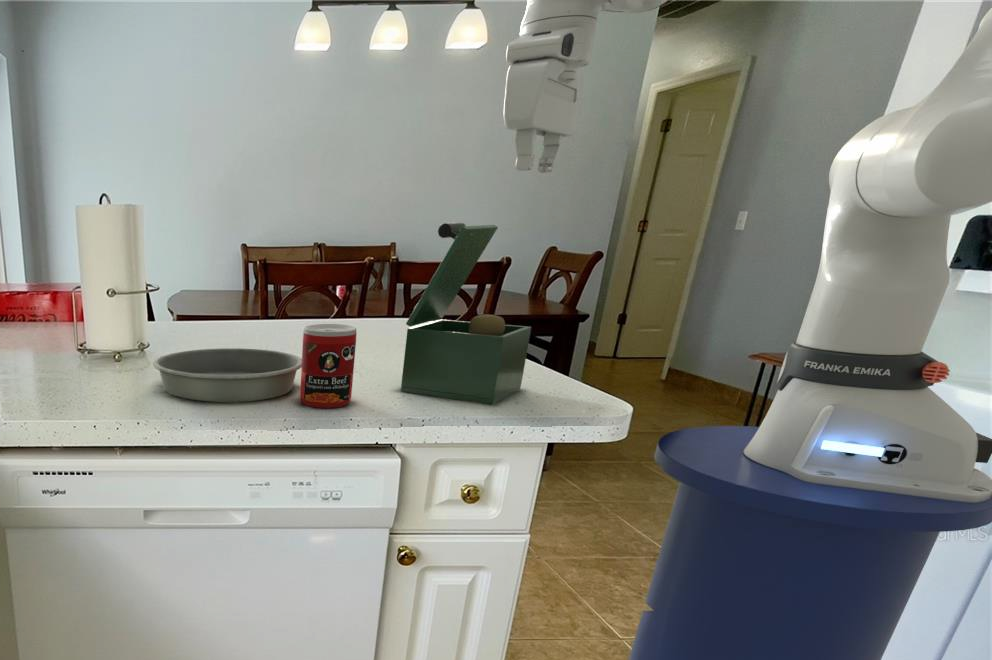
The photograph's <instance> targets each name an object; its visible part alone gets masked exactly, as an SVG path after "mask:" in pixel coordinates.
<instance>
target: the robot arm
mask: <svg viewBox="0 0 992 660" xmlns="http://www.w3.org/2000/svg"><path fill="white" fill-rule="evenodd" d="M669 1H670V0H527V5H526V10H525V13H524V16H523V19H522V21H521V24H520V31H519V36H518V37H517V38H515V39H514V40H512V41H510V42H509V43H508V44H507V47H506V53H505V63H506V64H508V65H509V67H508V70H507V73H506V81H505V89H504V102H503V123H504V128H505V129H506V130H510V131H514V132H516V134H515V151H516V152H515V153H516V160H515V170H516V171H530V170H533V167H534V162H535V154H534V145H535V140H536V139H537V136H538V137H539V136H540V137H543V143H542V145H543V148H542V153H541V157H540V158H539V159H538V166H537V172H538V173H541V174H542V173H543V174H544V173H545V174H546V173H552V172H553V171H554V170H555V165H556V159H557V157H558V155H559V152H560V149H561V148H562V144H563V139H564V138H568V137H572V136H574V134H575V132H576V130H577V126H578V120H579V114H580V105H581V100H582V99H581V98H582V90H583V79H582V75H581V74H580V73H578V69H580V68H584V67H586V66H588V65H589V64H590V62H591V56H592V50H593V45H594V38H595V33H596V27H597V22H598V17H599V16H598V15H599V14H600V12H602V11H604V12H612V13H627V14H642V13H645V12H649V11H652V10H653V11H654V10H655V9H657V8H659V7H661V6H663V5H664V4H666V3H667V2H669ZM828 185H829V191H830V193H829V200H828V205H827V209H826V216H825V223H824V230H823V238H822V247H821V253H820V254H821V255H820V261H819V267H818V271H817V275H816V279H815V283H814V286H813V289H812V292H811V294H810V297H809V301H808V304H807V308H806V310H805V313H804V316H803V319H802V323H801V326H800V329H799V332H798V335H797V337H796V341H793V342H791V344H790V347H789V349H788V351H787V352H786V353H785V356H784V359H783V362H782V365H781V368H780V371H779V375H778V378H777V385H776V387H777V388H776V389H777V391H776V393H775V396H774V398H773V400H772V402H771V404H770V407H769V409H768V411H767V412H766V415H765V417H764V418H763V420H762V422H761V424H760V425H759V426H758V427H759V429H758V431H757V432H756V434H755V435H754V437H753V438H752V440H751V441H750V443H749V444H748V445H747V447H746V448H745V449H744V451H743V452H744V454H745V455H746V456H747V457H748V458H750V459H751V460H753V461H755V462H757V463H760V464H762V465H765V466H768V467H771V468H774V469H777V470H780V471H783V472H785V473H787V474H789V475H791V476H793V477H795V478H797V479H799V480H802V481H805V482H810V483H817V484H825V485H833V486H841V487H849V488H856V489H864V490H872V491H880V492H888V493H896V494H904V495H912V496H920V497H928V498H935V499H943V500H951V501H959V502H968V503H978V502H983V501H986V500H988V499H990V498H991V496H992V480H991V479H992V478H991V477H990V476H989V475H988V474H987V473H985V472H983V471H982V470H980V469H978V468H975V465H976V463H980V464H981V463H982V464H987V463H988V462H989V460H990V458H991V457H992V438H990V437H989V436H986V435H983V434H981V433H979V432H976V431H975V428H974V427H973V426H972V425H971V424H970V423H969V422H968V421H967V420H966V419H965V418H964V417H963V416H961V414H959V413H958V412H957V411H956V410H955V409H954V408H953V407H952V406H951V405H950V404H948V403H947V402H946V401H945V400H944V399H943V398H942V397H940V396H939V394H937V393H936V392H935V391H933V390H932V389H931V388H930V387H932V386H934V385H935V384H937V383H941V382H943V380H947V379H948V377H949V376H950V372H951V370H950V369H949V367H948V365H947V364H946V363H944V362H941V361H939V360H936V359H935V358H933V357H932V356H930V355H928V354H927V353H926V352H923V351H922V350H923V348H924V345H925V343H926V341H927V338H928V336H929V334H930V331H931V329H932V326H933V323H934V321H935V319H936V316H937V314H938V311H939V308H940V305H942V304H941V303H942V301H943V298H944V296H945V293H946V291H947V288H948V286H949V284H950V278H951V277H950V276H951V275H950V269H949V265H948V258H947V257H948V256H947V253H948V252H947V251H948V239H949V231H950V226H951V225H950V223H951V217H952V216H954V215H959V214H962V213H965V212H968V211H971V210H974V209H977V208H979V207H982V206H985V205H988V204H990V203H992V7H990V9H989V10H988V11H987V12H986V13H985V15H984V16H983V18H982V19H981V21H980V22H979V25H978V29H977V31H976V33H975V34H974V36H973V38H972V39H971V41H970V42H969V44H968V45H967V46H966V48H965V49H964V50H963V52H961V55H959V57H958V59H957V60H956V61H955V63H954V64H953V66H952V67H951V68H950V70H949V71H948V72H947V74H946V75H945V76H944V77H943V78H942V80H941V81H939V83H938V85H936V86H935V88H934V89H933V90H932V91H931V92H930V93H929V94H928V95H926V96H925V97H924V98H923V99H922V100H920V101H919V102H917V104H915V105H914V106H910V107H906V108H902V109H898V110H894V111H892V112H889V113H887V114H884V115H882V116H880V117H878V118H877V119H875V120H873V121H872V122H870V123H869V124H867V125H865V127H863V128H861V130H859V131H858V132H857V133H855V134H854V135H853V136H852V137H851V138H850V139H848V141H846V142H845V144H844V145H843V146H842V147H841V149H840V150H839V151H837V153H836V156H835V157H834V159H833V161H832V163H831V166H830V169H829V173H828Z"/></svg>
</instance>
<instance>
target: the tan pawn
mask: <svg viewBox="0 0 992 660" xmlns="http://www.w3.org/2000/svg"><path fill="white" fill-rule="evenodd" d="M469 322H470V324H469V333H471V334H482V335H493V336H502V335H503V333H504V330H505V325H506V321H505V319H504V318H503V317H502V316H499V315H494V314H479V315H475V316H474V317H472V318H471V319H470V321H469Z"/></svg>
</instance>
